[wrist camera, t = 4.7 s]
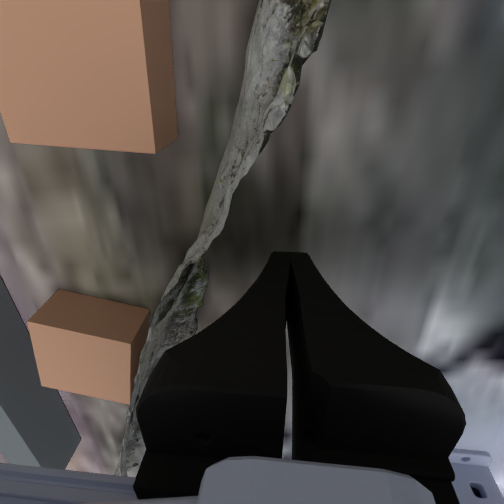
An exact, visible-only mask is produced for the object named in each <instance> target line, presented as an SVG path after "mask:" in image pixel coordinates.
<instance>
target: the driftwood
mask: <svg viewBox="0 0 504 504" xmlns="http://www.w3.org/2000/svg"><path fill="white" fill-rule="evenodd" d="M330 3H331V0H259V3H258V7H257V11H256V15H255V18H254V22H253V26H252V30H251V34H250V38H249V42H248V46H247V50H246V54H245V68H244V77H243V82H242V88H241V93H240V99H239V102H238V105H237V109H236V112H235V117H234V122H233V126H232V130H231V134H230V138H229V140H228V143H227V146H226V149H225V152H224V155H223V159H222V161H221V163H220V166H219V170H218V173H217V177H216V180H215V183H214V186H213V189H212V192H211V194H210V197H209V200H208V203H207V205H206V209H205V213H204V218H203V221H202V224H201V228H200V231H199V235H198V239H197V240H196V241H195V242H194V244H193V245H192V246H191V247H190V248H189V249H188V250H187V254H186V257H185V260H184V262H182V263H181V264H180V265H179V267H178V269H177V270H176V272H175V274H174V275H173V277H172V279H171V280H170V282H169V284H168V285H167V287H166V289H165V292H164V294H163V296H162V298H161V301H160V304H159V305H158V307H157V309H156V311H155V314H154V316H153V320H152V324H151V327H150V328H149V331H148V336H147V340H146V343H145V345H144V347H143V349H142V351H141V354H140V358H139V367H138V371H137V375H136V376H135V379H134V383H135V387H134V391H133V394H132V396H131V403H130V407H129V409H128V411H127V414H128V417H127V420H126V421H127V427H126V430H125V435H124V439H123V441H122V447H121V451H120V456H119V463H118V466H117V469H116V472H115V474H114V475H116V476H117V475H118V474H120V473H121V475H122V476H126V477H127V471H129V470H130V469H131V468H132V467H135V466H136V465H138V464H137V463H134V464H133V465H132V466H130V467H127V468H126V464H127V463H129V461H128V458H129V455H130V454H133V453H135V452H134V450H135V442H137V441H139V440H140V439H141V438H143V437H142V434H141V431H140V428H139V424H138V421H137V418H136V407H137V404H138V401H139V399H140V397H141V394H142V392H143V389H144V387H145V385H146V382H147V380H148V378H149V376H150V374H151V372H152V371H153V369H154V367H155V366H156V364H157V362H158V361H159V359H160V358H161V356H162V355H163V353H164V351H165V350H167V349H169V348H171V347H173V346H175V345H177V344H179V342H180V341H181V340H182V339H183V338H184V337H185V335H187V334H188V333H190V332H191V335H190V337H192V336H194V335H195V332H196V331H197V320H196V319H195V316H196V310H197V308H198V307H201V306H202V305H203V303H202V299H203V293H204V292H205V290H206V288H207V285H206V284H207V281H208V270H205V269H204V268H203V263H204V259H202V258H201V257H202V256H203V254H204V253H205V252H206V251H207V249H208V247H209V245H210V244H211V242H212V240H213V239H214V238H216V237H217V236H218V235H219V234H220V233H221V231H222V230H223V228H224V224H225V220H226V218H227V216H228V213H229V207H230V203H231V198H232V194H233V192H234V191H235V189H236V188H237V186H238V184H239V182H240V179H241V178H243V177H244V176H245V175H246V174H247V173H248V171H249V169H250V167H251V166H252V165H253V164H254V162H255V160H256V158H257V156H258V155H259V154H260V152H261V151H262V150H263V148H264V147H265V145H266V144H267V142H268V140H269V137H270V134H271V133H272V132H273V131H274V130H275V129H276V128H277V127H278V126H279V125H280V124H281V123H282V121H283V120H284V118H285V116H286V115H287V113H288V111H289V109H290V107H291V105H292V102H293V98H294V95H295V93H296V91H297V89H298V86H299V82H300V75H301V68H302V65H303V64H304V62H305V61H306V60H307V59H308V58H309V56H310V55H311V54H312V53H313V52H315V51H317V49H318V46H319V43H320V40H321V38H322V34H323V29H324V25H325V21H326V17H327V13H328V10H329V6H330ZM121 439H122V438H121Z"/></svg>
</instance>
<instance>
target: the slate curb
mask: <svg viewBox="0 0 504 504" xmlns="http://www.w3.org/2000/svg"><path fill="white" fill-rule="evenodd" d="M80 441H81V438H80V436H79V434H78V432H77V430H76V428H75V426H74V424H73V422H72V420H71V418H70V416H69V414H68V412H67V410H66V408H65V406H64V404H63V402H62V400H61V397H60V395H59V393H58V391H57V389H53V388H49V387H44V386H41V381H40V377H39V373H38V368H37V364H36V359H35V355H34V350H33V346H32V341H31V337H30V335H29V333H28V331H27V329H26V327H25V325H24V323H23V321H22V319H21V317H20V315H19V313H18V311H17V309H16V307H15V305H14V303H13V301H12V299H11V297H10V295H9V293H8V291H7V289H6V287H5V285H4V283H3V281H2V279H1V277H0V452H1V453H2V454H3V456H4V457H5V458H6V459H7V461H8V462H9V463H10V464H16V465H25V466H34V467H43V468H52V469H62V470H65V468H66V466H67V465H68V463H69V461H70V459H71V457H72V456H73V454H74V452H75V450H76V448H77V446H78V445H79V443H80Z"/></svg>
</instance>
